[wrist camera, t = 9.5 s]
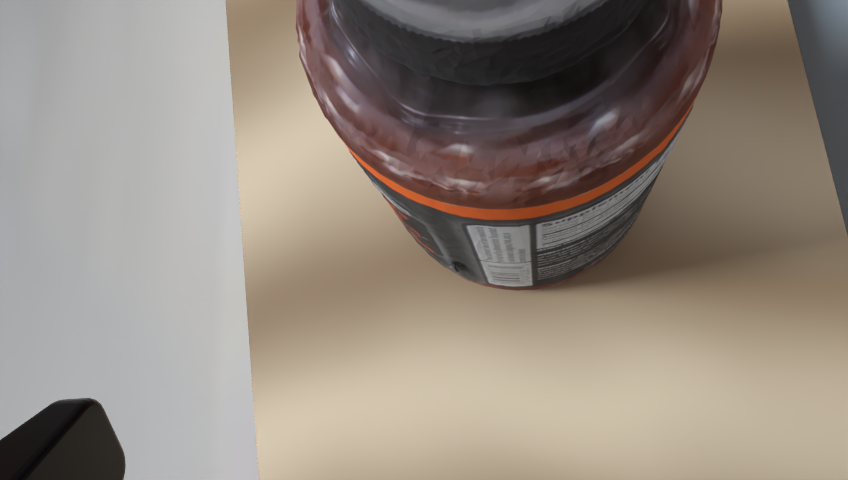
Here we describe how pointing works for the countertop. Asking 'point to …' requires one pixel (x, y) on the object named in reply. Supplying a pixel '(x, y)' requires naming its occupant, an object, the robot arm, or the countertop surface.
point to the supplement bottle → (510, 118)
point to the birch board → (550, 298)
